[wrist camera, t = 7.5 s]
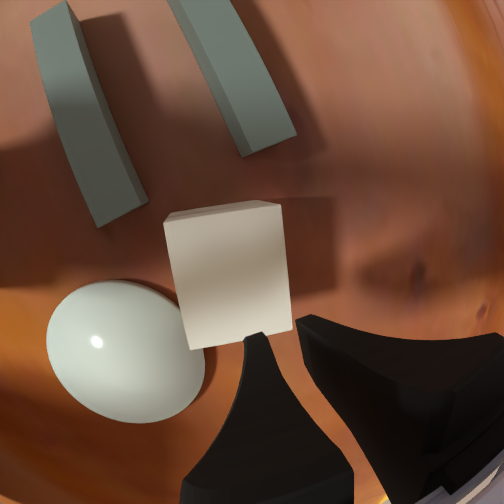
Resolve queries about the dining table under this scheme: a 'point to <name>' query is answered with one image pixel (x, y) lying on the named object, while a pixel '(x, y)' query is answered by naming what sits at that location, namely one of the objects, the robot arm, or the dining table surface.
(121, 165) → the slot holder
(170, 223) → the cream block
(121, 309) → the pale green oval piece
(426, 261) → the dining table surface
